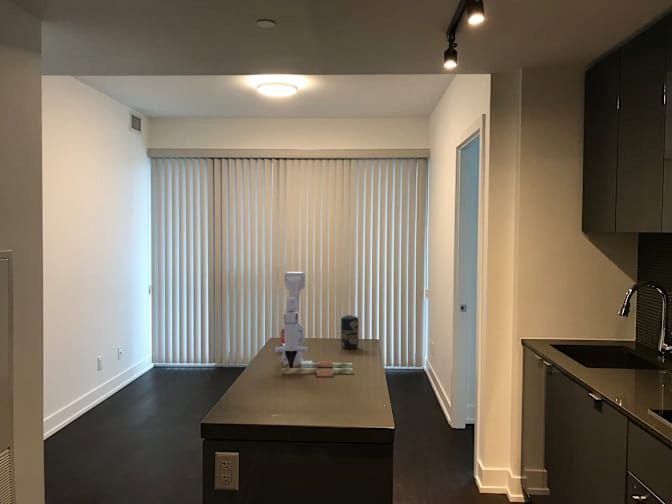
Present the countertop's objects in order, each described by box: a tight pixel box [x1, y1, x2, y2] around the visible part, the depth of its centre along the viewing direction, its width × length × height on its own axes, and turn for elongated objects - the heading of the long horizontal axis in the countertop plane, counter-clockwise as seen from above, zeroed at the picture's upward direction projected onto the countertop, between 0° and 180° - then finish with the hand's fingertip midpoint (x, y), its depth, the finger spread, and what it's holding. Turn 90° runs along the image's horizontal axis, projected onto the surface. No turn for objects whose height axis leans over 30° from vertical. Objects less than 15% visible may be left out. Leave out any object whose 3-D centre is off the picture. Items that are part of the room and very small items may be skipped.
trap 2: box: [316, 369, 334, 378], centre depth 219 cm, size 7×4×2 cm, turn 90°
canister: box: [340, 314, 359, 349], centre depth 272 cm, size 10×10×18 cm
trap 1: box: [317, 361, 334, 368], centre depth 235 cm, size 7×4×2 cm, turn 90°
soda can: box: [279, 327, 285, 347], centre depth 267 cm, size 7×7×12 cm
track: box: [281, 362, 354, 375], centre depth 227 cm, size 32×10×2 cm, turn 90°
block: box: [301, 360, 313, 368], centre depth 227 cm, size 5×5×4 cm
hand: (291, 367), depth 227 cm, fingers closed
